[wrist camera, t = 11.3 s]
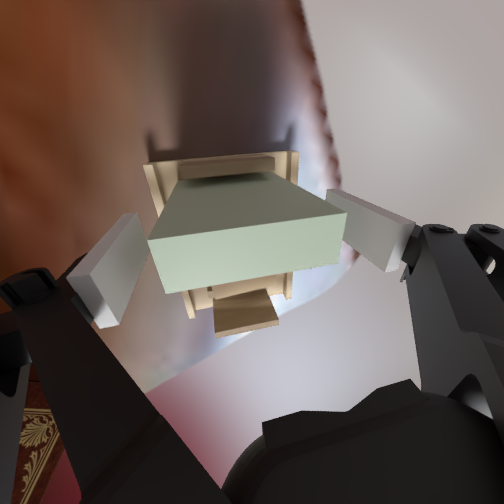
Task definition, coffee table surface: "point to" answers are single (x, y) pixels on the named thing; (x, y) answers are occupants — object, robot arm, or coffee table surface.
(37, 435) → the decorative book
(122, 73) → the coffee table surface
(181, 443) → the robot arm
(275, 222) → the sage board
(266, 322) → the rack
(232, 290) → the offcut oak
